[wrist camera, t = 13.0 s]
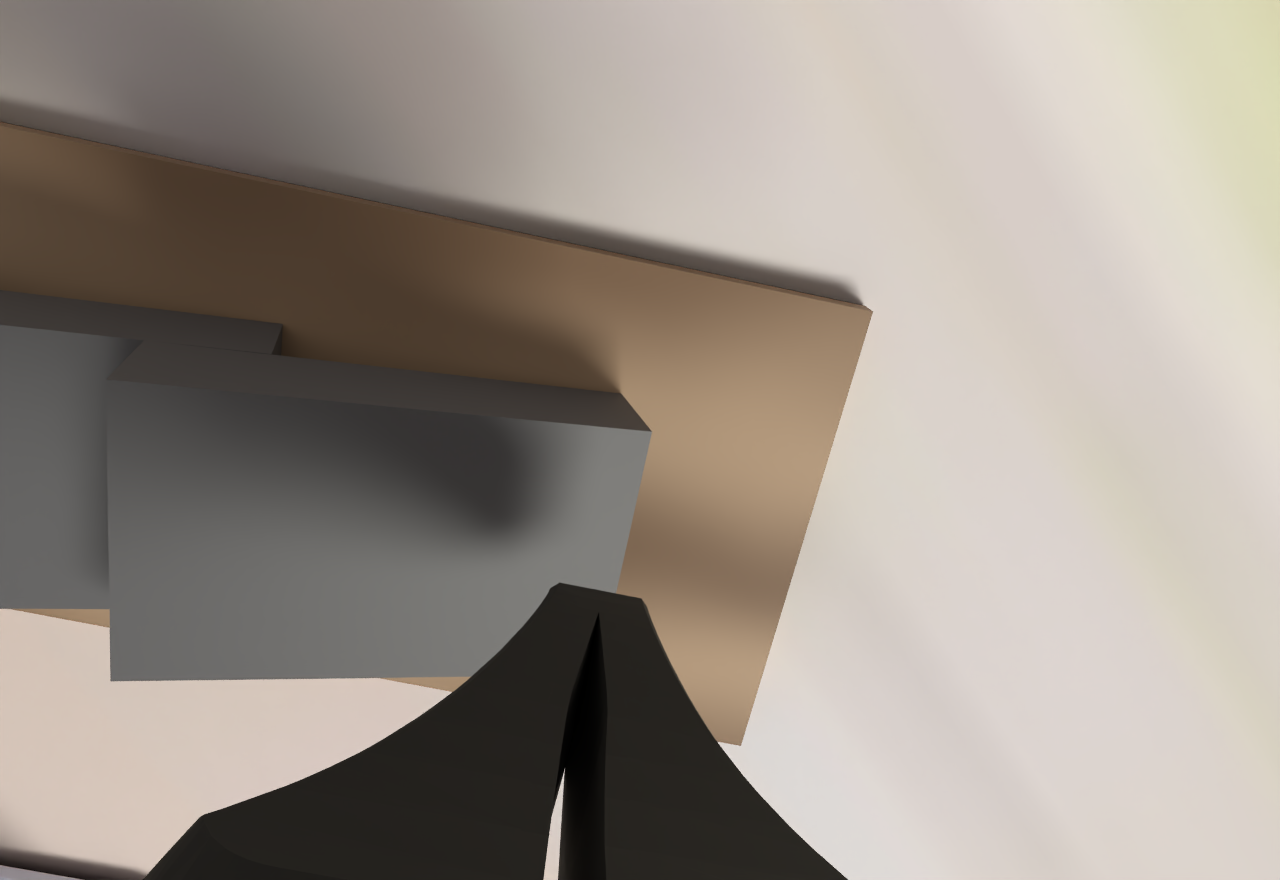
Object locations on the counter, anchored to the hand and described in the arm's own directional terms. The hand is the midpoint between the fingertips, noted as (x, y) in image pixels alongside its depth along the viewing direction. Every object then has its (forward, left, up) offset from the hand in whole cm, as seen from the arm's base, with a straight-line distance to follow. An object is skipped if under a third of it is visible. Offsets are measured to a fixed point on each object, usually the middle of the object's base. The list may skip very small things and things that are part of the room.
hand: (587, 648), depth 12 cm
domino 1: (0, 0, -4) cm, 4 cm away
